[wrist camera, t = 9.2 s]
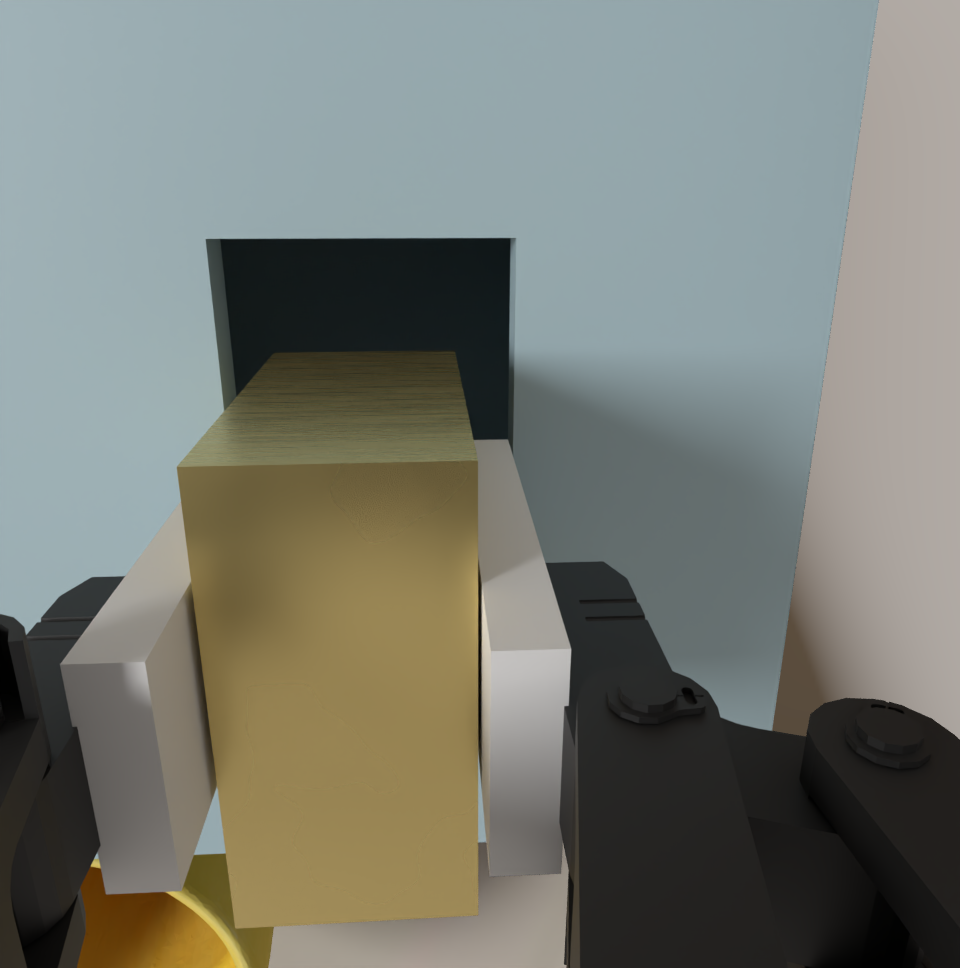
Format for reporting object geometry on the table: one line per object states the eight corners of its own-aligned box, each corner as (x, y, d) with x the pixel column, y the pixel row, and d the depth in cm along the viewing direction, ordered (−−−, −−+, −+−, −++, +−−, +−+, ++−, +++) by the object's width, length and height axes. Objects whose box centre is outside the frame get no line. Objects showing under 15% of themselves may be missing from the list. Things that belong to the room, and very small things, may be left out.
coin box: (95, 74, 23) (-217, -17, 12) (668, 78, 24) (879, -2, 13) (169, 592, 29) (4, 862, 18) (631, 580, 30) (757, 830, 18)
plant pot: (333, 846, 33) (298, 1105, 24) (73, 889, 33) (-63, 1165, 24) (270, 617, 29) (200, 819, 20) (-23, 665, 29) (-226, 890, 20)
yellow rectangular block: (274, 352, 14) (175, 466, 8) (454, 350, 14) (478, 461, 9) (299, 666, 16) (234, 928, 10) (457, 660, 16) (477, 915, 11)
